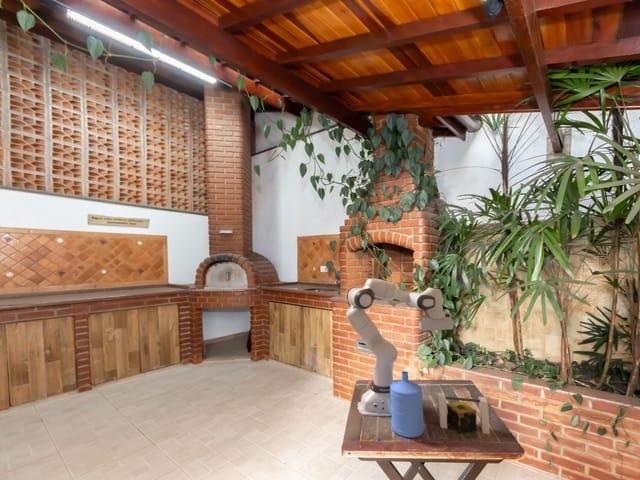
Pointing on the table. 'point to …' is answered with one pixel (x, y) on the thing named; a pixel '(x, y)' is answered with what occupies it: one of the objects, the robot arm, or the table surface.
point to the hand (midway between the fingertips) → (436, 337)
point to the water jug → (406, 407)
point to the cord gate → (482, 400)
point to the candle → (461, 417)
